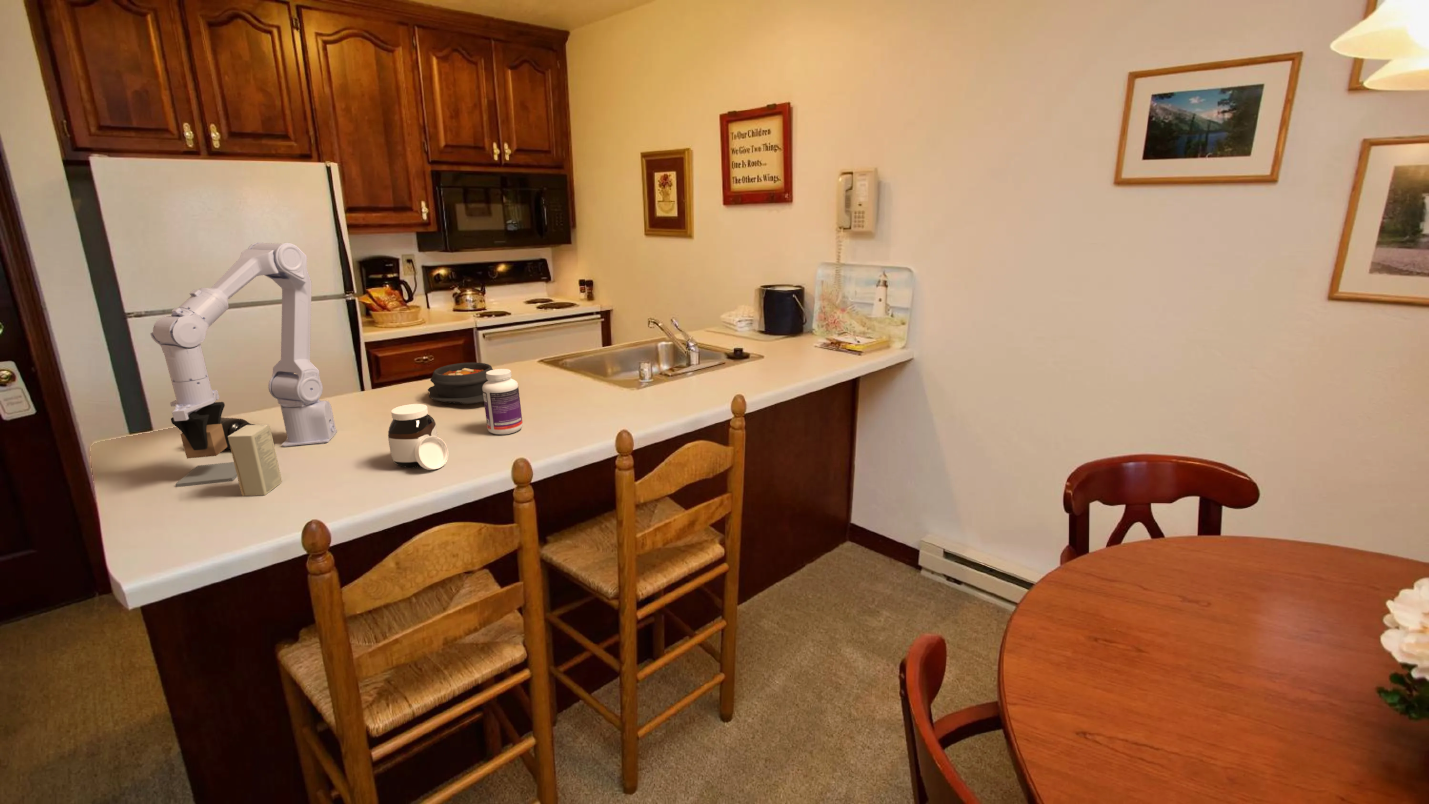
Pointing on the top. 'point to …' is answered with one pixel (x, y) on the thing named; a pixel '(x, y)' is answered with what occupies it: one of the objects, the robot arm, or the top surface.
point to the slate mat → (209, 474)
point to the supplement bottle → (232, 426)
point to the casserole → (459, 383)
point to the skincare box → (255, 459)
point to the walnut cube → (214, 443)
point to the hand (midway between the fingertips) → (207, 444)
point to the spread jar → (415, 438)
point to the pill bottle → (502, 402)
